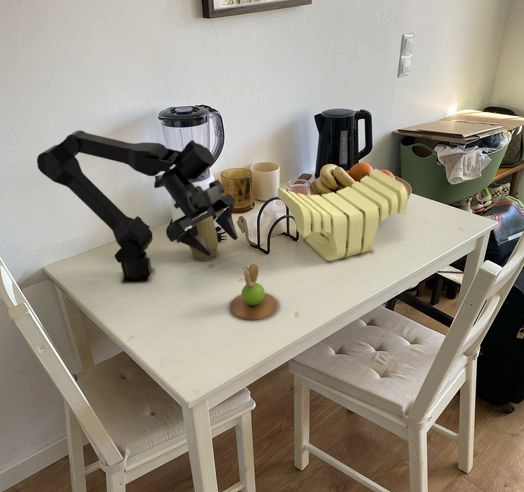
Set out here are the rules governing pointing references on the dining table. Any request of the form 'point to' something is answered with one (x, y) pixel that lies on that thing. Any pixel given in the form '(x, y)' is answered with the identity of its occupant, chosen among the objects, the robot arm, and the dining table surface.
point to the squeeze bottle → (206, 238)
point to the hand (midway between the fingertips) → (223, 247)
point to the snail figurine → (252, 286)
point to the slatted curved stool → (346, 214)
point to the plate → (254, 308)
